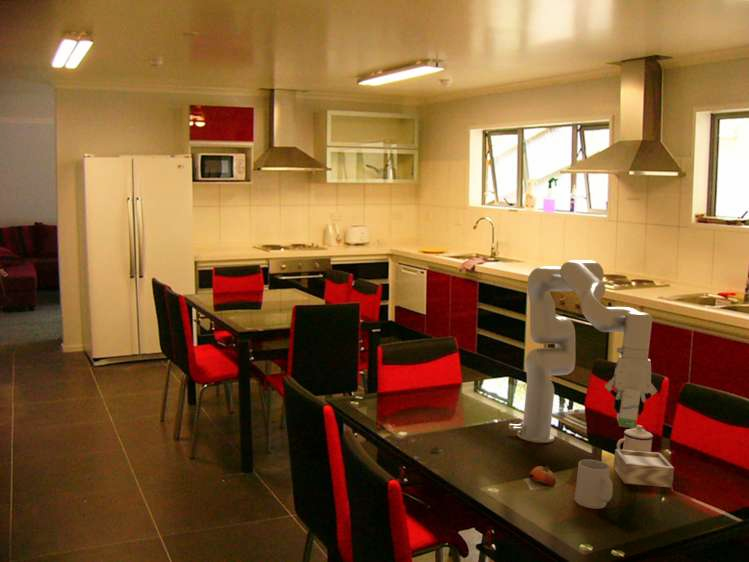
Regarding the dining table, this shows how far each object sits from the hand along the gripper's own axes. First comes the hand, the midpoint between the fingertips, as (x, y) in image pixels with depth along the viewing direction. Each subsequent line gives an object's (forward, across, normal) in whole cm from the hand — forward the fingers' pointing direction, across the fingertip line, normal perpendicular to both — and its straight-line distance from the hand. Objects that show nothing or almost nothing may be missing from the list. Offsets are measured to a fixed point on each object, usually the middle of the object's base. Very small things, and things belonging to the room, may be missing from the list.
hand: (628, 412), depth 241 cm
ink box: (+4, 0, 0) cm, 4 cm away
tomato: (+22, -24, -8) cm, 33 cm away
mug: (+21, -12, -23) cm, 33 cm away
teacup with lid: (+21, +8, +21) cm, 31 cm away
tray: (+21, +8, +5) cm, 23 cm away
